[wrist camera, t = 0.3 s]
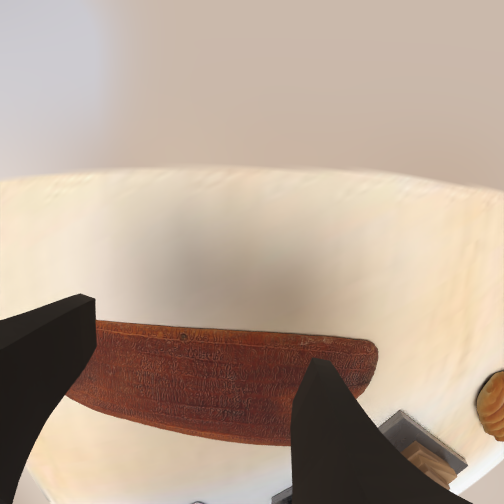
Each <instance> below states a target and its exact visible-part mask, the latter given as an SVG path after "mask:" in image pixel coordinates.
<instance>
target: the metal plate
mask: <svg viewBox="0 0 504 504" xmlns="http://www.w3.org/2000/svg"><path fill="white" fill-rule="evenodd" d="M378 429H379V430H380V431H381V433H382V434H383V435H384V436H385V437H386V438H387V439H388V440H389V441H390V442H391V443H392V445H393V446H394V447H395V448H396V449H397V450H398V451H399V452H402V451H403V450H404V449H406V448H407V447H408V446H409V445H411V444H412V443H413V442H414V441H417V442H418V443H420V444H421V445H422V446H424V447H425V448H427V449H428V450H430V451H431V452H433V453H434V454H436V455H437V456H439V457H440V458H441V459H443V460H444V461H446V462H447V463H449V465H450V467H451V468H453V469H454V471H455V473H456V475H457V474H458V473H460V472H461V471H462V470H463V469H465V468H466V467H467V466H468V464H467V462H466V461H465V459H463V458H462V457H461V456H459V455H458V454H457V453H455V452H454V451H453V450H451V449H450V448H449V447H447V446H446V445H445V444H443V443H442V442H441V441H439V440H438V439H437V438H436V437H434V436H433V435H432V434H430V433H429V432H428V431H426V430H425V429H424V428H423V427H421V426H420V425H419V424H417V423H416V422H415V421H413V420H412V419H411V418H410V417H408V416H407V415H406V414H404V413H403V412H402V411H401V410H399V411H398V412H397V413H396V414H395V415H394V416H392V417H391V418H390V419H389V420H387V421H386V422H385V423H384V424H383V425H381V426H380V427H379V428H378ZM291 503H292V487H290V488H288V489H287V490H285V491H283V492H281V493H279V494H278V495H276V496H274V497H272V504H291Z"/></svg>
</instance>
